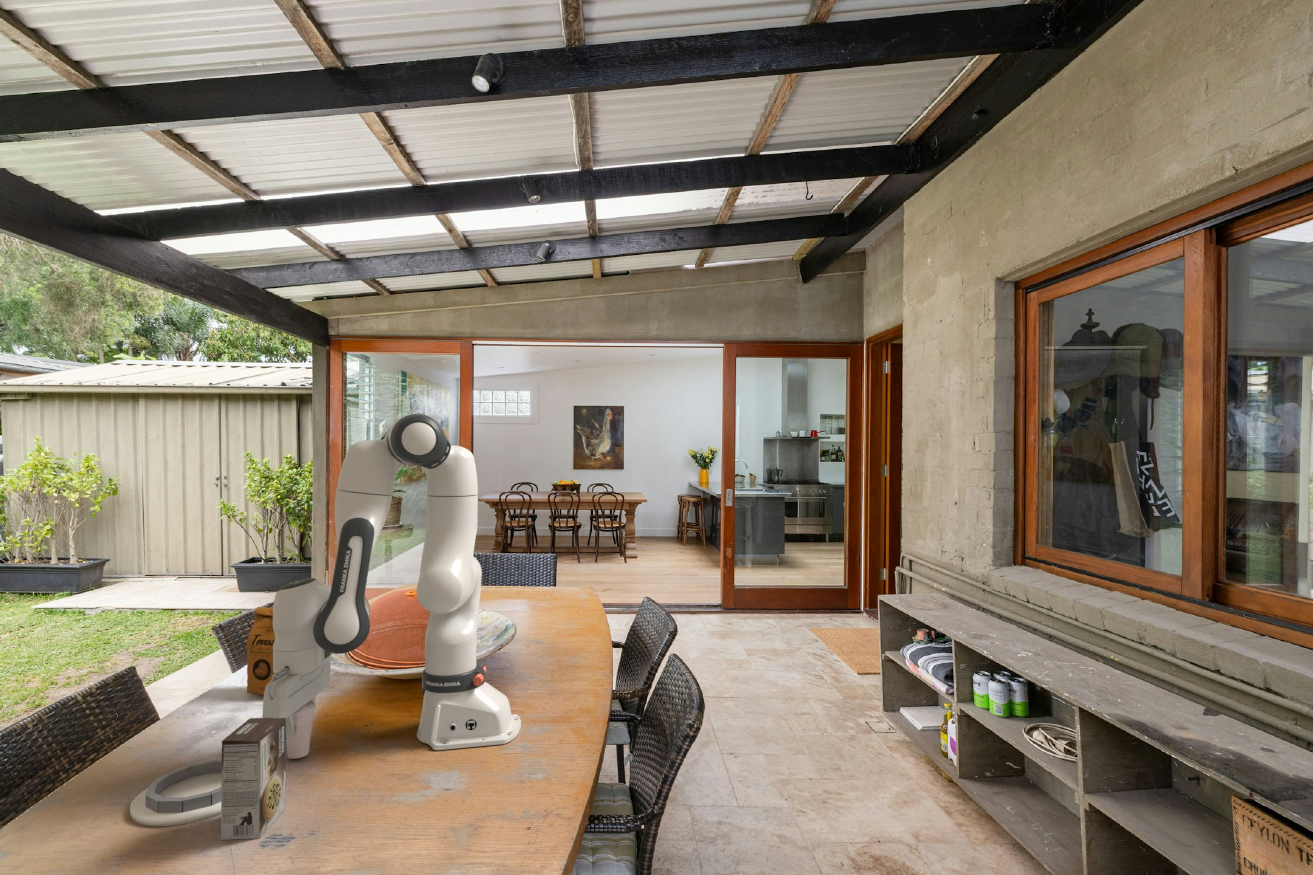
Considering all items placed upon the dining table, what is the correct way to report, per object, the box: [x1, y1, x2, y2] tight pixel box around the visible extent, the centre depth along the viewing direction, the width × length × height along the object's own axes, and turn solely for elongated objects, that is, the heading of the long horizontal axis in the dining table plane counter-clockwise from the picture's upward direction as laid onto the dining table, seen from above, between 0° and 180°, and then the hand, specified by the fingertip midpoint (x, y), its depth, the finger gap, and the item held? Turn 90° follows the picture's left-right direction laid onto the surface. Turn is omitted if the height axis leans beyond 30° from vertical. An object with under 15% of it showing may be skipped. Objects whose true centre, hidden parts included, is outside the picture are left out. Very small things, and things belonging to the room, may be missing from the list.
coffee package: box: [246, 606, 275, 696], centre depth 171 cm, size 10×12×22 cm
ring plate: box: [129, 758, 222, 828], centre depth 120 cm, size 20×20×3 cm
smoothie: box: [286, 701, 317, 760], centre depth 135 cm, size 6×6×14 cm
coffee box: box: [220, 717, 287, 841], centre depth 111 cm, size 9×6×16 cm
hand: (298, 727), depth 135 cm, fingers closed on smoothie, 5 cm apart
